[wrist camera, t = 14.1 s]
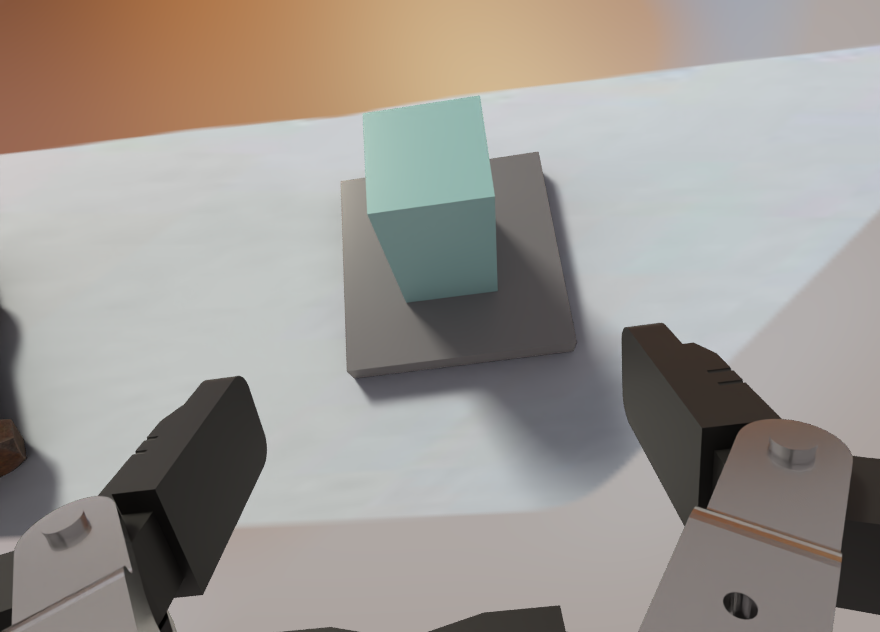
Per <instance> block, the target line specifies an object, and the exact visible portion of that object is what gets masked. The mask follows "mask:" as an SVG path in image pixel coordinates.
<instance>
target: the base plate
mask: <svg viewBox="0 0 880 632" xmlns="http://www.w3.org/2000/svg"><path fill="white" fill-rule="evenodd" d="M489 160H490V167H491V174H492V180H493V187H494V194H495V217H496V250H497V284H498V291H494V292H487V293H479V294H471V295H463V296H455V297H447V298H439V299H432V300H424V301H416V302H408V303H406V301H405V299H404V297H403V294H402V292H401V290H400V288H399V285H398V283H397V281H396V279H395V276H394V274H393V272H392V269H391V267H390V265H389V263H388V260H387V258H386V256H385V254H384V251H383V249H382V247H381V244H380V242H379V240H378V238H377V235H376V233H375V231H374V229H373V226H372V224H371V222H370V219H369V217H368V215H367V199H366V178H360V179H353V180H347V181H341V206H342V237H343V268H344V298H345V329H346V360H347V372H348V373H349V374H350V375H351V376H352V377H353V378H362V377H370V376H378V375H386V374H394V373H402V372H410V371H418V370H426V369H434V368H443V367H451V366H459V365H467V364H475V363H483V362H491V361H499V360H507V359H515V358H523V357H531V356H539V355H547V354H555V353H563V352H571V351H574V348H575V346H576V343H577V340H576V335H575V330H574V325H573V321H572V316H571V311H570V306H569V301H568V296H567V291H566V286H565V281H564V276H563V271H562V266H561V261H560V256H559V251H558V246H557V241H556V236H555V231H554V226H553V221H552V216H551V211H550V206H549V201H548V196H547V192H546V187H545V182H544V177H543V172H542V167H541V162H540V157H539V152H533V153H526V154H520V155H513V156H507V157H500V158H493V159H489Z"/></svg>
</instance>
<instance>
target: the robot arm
mask: <svg viewBox="0 0 880 632" xmlns="http://www.w3.org/2000/svg"><path fill="white" fill-rule="evenodd" d="M622 388H623V402H624V408H625V412H626V416H627V419H628V422H629V424H630V426H631V428H632V430H633V431H634V433H635V435H636V437H637V439H638V441H639V443H640V444H641V446H642V448H643V450H644V452H645V454H646V455H647V457H648V459H649V461H650V463H651V465H652V467H653V469H654V470H655V472H656V474H657V476H658V478H659V479H660V482H661V483H662V485H663V487H664V489H665V491H666V492H667V494H668V496H669V498H670V500H671V502H672V504H673V506H674V508H675V509H676V511H677V513H678V515H679V517H680V519H681V520H682V522H683V524H684V526H685V527H684V530H683V532H682V534H681V536H680V538H679V541H678V543H677V545H676V548H675V550H674V552H673V554H672V557H671V559H670V561H669V563H668V566H667V568H666V570H665V572H664V575H663V577H662V579H661V581H660V584H659V586H658V588H657V590H656V593H655V595H654V597H653V599H652V602H651V604H650V606H649V608H648V611H647V613H646V615H645V617H644V620H643V622H642V624H641V627H640V629H639V631H638V632H832V630H833V623H834V615H835V608H836V607H839V608H844V609H850V610H856V611H861V612H866V613H872V614H878V615H880V459H875V458H865V457H857V456H852V454H851V451H850V450H849V448H848V447H847V446H846V445H845V444H844V443H843V442H842V441H841V440H840V439H839V438H837V437H836V436H834V435H833V434H831V433H829V432H828V431H826V430H823V429H821V428H819V427H816V426H813V425H811V424H807V423H803V422H799V421H794V420H786V419H781V418H780V417H779V416H778V415H777V414H776V413H775V412H774V411H773V410H772V409H771V408H770V407H769V406H768V405H767V404H766V403H765V402H764V401H763V400H762V399H761V398H760V397H759V396H758V395H757V394H756V393H755V392H754V391H753V390H752V389H751V388H750V387H749V386H748V385H747V384H746V383H743V381H742V379H741V378H740V377H739V376H738V375H737V374H736V373H735V372H734V371H731V368H730V367H729V365H728V364H727V363H726V362H725V361H724V360H723V359H722V358H721V357H720V356H719V355H718V354H717V353H714V352H712V351H710V350H708V349H706V348H704V347H702V346H700V345H698V344H695V343H687V344H682V343H681V342H680V341H679V340H678V338H677V337H676V336H675V335H674V334H673V333H672V332H671V331H670V330H669V328H668V327H667V326H666V325H665V324H664V323H655V324H647V325H639V326H632V327H625V328H624V329H623V332H622ZM266 455H267V444H266V438H265V434H264V431H263V428H262V425H261V422H260V419H259V416H258V413H257V410H256V407H255V404H254V401H253V398H252V395H251V392H250V389H249V386H248V384H247V382H246V380H245V379H244V378H243V377H241V376H235V377H227V378H220V379H212V380H205V381H203V382H202V383H201V384H200V386H199V387H198V388H197V389H196V391H195V392H194V393H193V394H192V395H191V397H190V398H189V399H188V400H187V402H186V403H185V404H184V405H183V406H181V407H180V408H178V409H177V410H175V411H174V412H173V413H171V414H170V415H169V416H167V417H166V418H164V419H163V420H162V421H160V423H159V424H158V425H157V426H156V427H155V429H154V430H153V431H152V432H151V433H150V434H149V436H148V437H147V440H146V441H144V442H143V443H142V444H141V445H140V446H139V448H138V449H137V450H136V454H134V455H132V456H131V457H130V458H129V459H128V461H127V462H126V463H125V464H124V465H123V466H122V468H121V469H120V470H119V471H118V472H117V474H116V475H115V476H114V477H113V478H112V480H111V481H110V482H109V483H108V484H107V485H106V487H105V488H104V489H103V490H102V491H101V493H100V494H99V495H98V496H94V497H87V498H83V499H80V500H77V501H74V502H71V503H69V504H66V505H64V506H62V507H60V508H58V509H56V510H54V511H52V512H51V513H49V514H47V515H46V516H44V517H43V518H41V519H40V520H39V521H37V522H36V523H35V524H34V525H32V526H31V527H30V528H29V529H28V530H27V531H26V532H25V533H24V534H23V536H22V537H21V538H20V540H19V541H18V542H17V545H16V547H15V550H14V551H12V552H9V553H6V554H2V555H0V632H177V631H176V628H175V624H174V622H173V620H172V617H171V616H170V613H169V611H168V608H169V606H170V604H171V602H172V600H173V598H177V597H187V596H196V595H203V594H204V591H205V589H206V587H207V585H208V583H209V581H210V579H211V577H212V575H213V572H214V570H215V568H216V566H217V564H218V562H219V560H220V558H221V556H222V553H223V551H224V549H225V547H226V545H227V543H228V541H229V539H230V537H231V535H232V532H233V530H234V528H235V526H236V524H237V522H238V520H239V518H240V516H241V513H242V511H243V509H244V507H245V505H246V503H247V501H248V499H249V497H250V494H251V492H252V490H253V488H254V486H255V484H256V482H257V480H258V478H259V476H260V473H261V471H262V469H263V467H264V465H265V461H266ZM285 632H357V631H351V630H345V629H339V628H333V627H327V628H317V629H306V630H296V631H285ZM429 632H566V631H565V626H564V622H563V618H562V613H561V608H560V606H549V607H538V608H528V609H518V610H507V611H497V612H486V613H481V614H479V615H476V616H473V617H470V618H467V619H464V620H461V621H458V622H455V623H453V624H449V625H446V626H444V627H441V628H438V629H435V630H432V631H429Z"/></svg>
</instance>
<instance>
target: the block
mask: <svg viewBox="0 0 880 632" xmlns="http://www.w3.org/2000/svg"><path fill="white" fill-rule="evenodd" d="M363 133H364V155H365V177H366V199H367V215H368V217H369V219H370V222H371V224H372V226H373V229H374V231H375V233H376V235H377V238H378V240H379V242H380V244H381V247H382V249H383V251H384V254H385V256H386V258H387V260H388V263H389V265H390V267H391V269H392V272H393V274H394V276H395V279H396V281H397V283H398V285H399V288H400V290H401V292H402V294H403V297H404V299H405V301H406V303H408V302H416V301H424V300H432V299H439V298H447V297H455V296H463V295H471V294H479V293H487V292H494V291H498V284H497V250H496V217H495V194H494V187H493V180H492V174H491V167H490V160H489V154H488V147H487V140H486V134H485V127H484V121H483V114H482V107H481V101H480V96H474V97H468V98H461V99H454V100H448V101H441V102H435V103H428V104H422V105H415V106H409V107H402V108H396V109H389V110H383V111H376V112H369V113H363Z"/></svg>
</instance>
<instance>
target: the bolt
mask: <svg viewBox="0 0 880 632" xmlns="http://www.w3.org/2000/svg"><path fill="white" fill-rule="evenodd" d="M26 458H27V457H26V450H25V444H24V439H23V437H22V436H21V434H20V432H19V431H18V429H17V428H16V426H15V424H14V423H13V421H12V420H11V419H2V420H0V477H2V476H4V475H6V474H8V473H10V472H11V471H13V470H14V469H16V468H17V467H18V466H19V465H20V464H21V463H22V462H23V461H24V460H25V459H26Z"/></svg>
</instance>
